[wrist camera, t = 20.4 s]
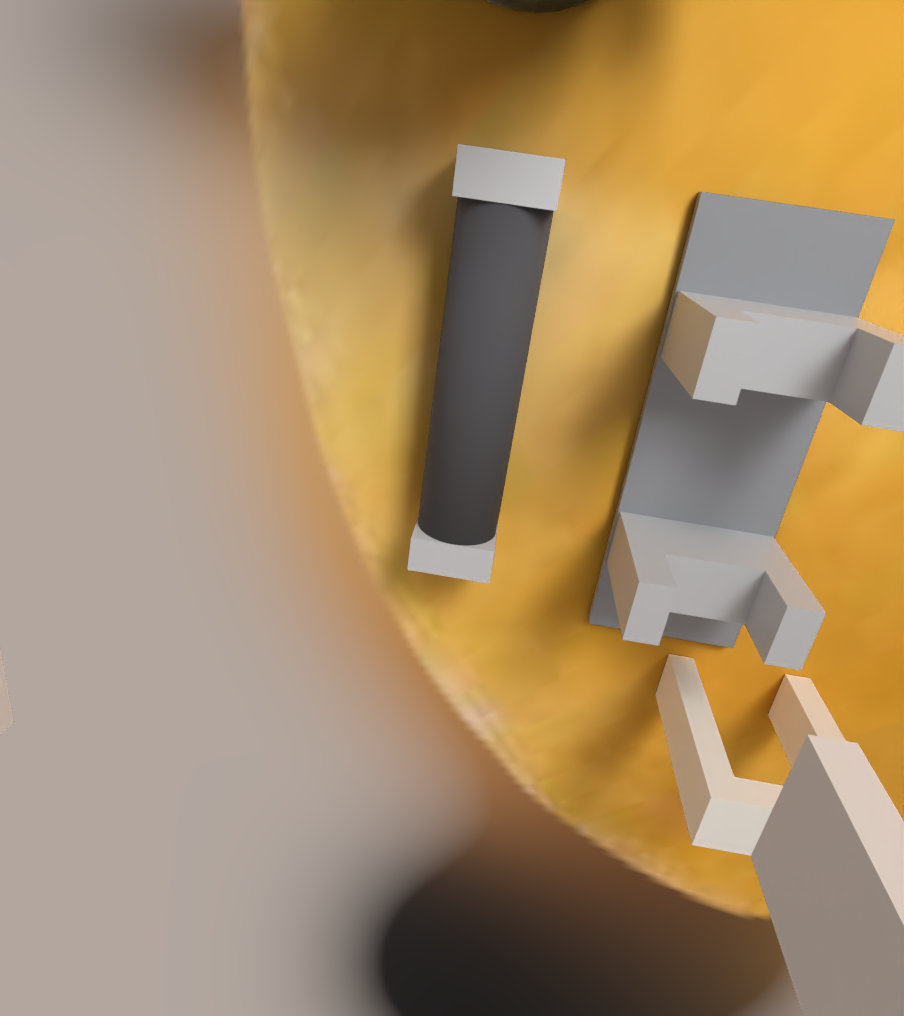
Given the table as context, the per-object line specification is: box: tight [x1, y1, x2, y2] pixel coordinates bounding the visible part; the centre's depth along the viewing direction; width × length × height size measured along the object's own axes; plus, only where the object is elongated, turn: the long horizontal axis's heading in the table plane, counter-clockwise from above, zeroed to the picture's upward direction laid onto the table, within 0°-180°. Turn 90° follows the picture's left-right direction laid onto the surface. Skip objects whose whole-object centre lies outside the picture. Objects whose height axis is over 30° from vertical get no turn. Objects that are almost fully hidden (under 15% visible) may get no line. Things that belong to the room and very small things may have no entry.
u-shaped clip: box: [656, 654, 846, 856], centre depth 35 cm, size 3×8×10 cm, turn 82°
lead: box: [407, 144, 566, 584], centre depth 32 cm, size 19×4×4 cm, turn 172°
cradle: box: [588, 192, 904, 670], centre depth 30 cm, size 22×8×8 cm, turn 172°
